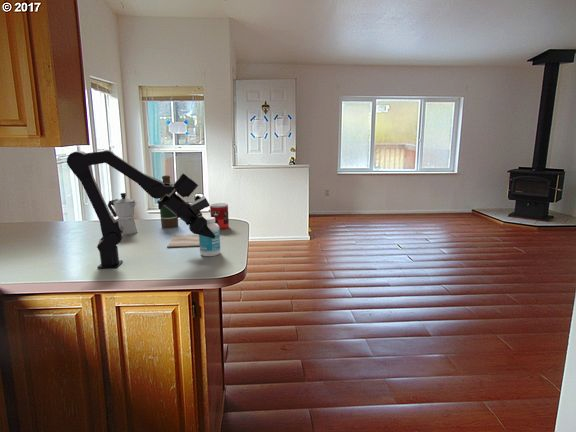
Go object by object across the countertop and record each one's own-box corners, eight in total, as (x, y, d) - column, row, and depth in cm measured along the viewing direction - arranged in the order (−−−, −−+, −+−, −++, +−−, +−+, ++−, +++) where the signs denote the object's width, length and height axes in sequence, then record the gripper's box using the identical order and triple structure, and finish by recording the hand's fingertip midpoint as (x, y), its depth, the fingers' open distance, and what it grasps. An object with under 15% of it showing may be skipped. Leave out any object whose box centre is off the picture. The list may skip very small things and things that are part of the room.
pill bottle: (216, 257, 143) (214, 220, 140) (196, 256, 145) (194, 220, 142) (223, 251, 151) (221, 216, 148) (205, 250, 152) (202, 215, 149)
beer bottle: (161, 225, 193) (157, 175, 188) (178, 223, 195) (174, 174, 190) (161, 228, 186) (157, 177, 180) (178, 227, 188) (174, 176, 183)
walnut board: (201, 246, 157) (201, 245, 157) (167, 247, 156) (167, 246, 156) (205, 235, 173) (205, 234, 172) (174, 236, 171) (174, 235, 171)
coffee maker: (145, 231, 182) (141, 191, 178) (133, 236, 174) (129, 195, 170) (117, 229, 186) (113, 191, 182) (104, 234, 178) (99, 194, 174)
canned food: (209, 227, 188) (208, 204, 185) (226, 225, 191) (225, 202, 188) (213, 230, 181) (212, 206, 178) (231, 228, 184) (229, 205, 182)
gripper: (198, 193, 133) (232, 223, 139) (191, 186, 150) (222, 212, 156) (175, 219, 132) (211, 247, 138) (171, 208, 149) (203, 234, 155)
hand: (212, 234), depth 147 cm, fingers open, 9 cm apart
